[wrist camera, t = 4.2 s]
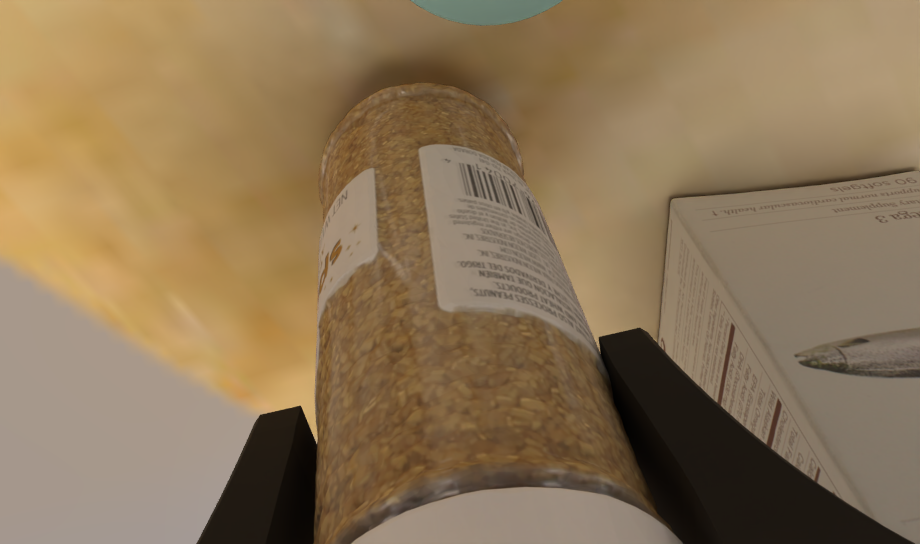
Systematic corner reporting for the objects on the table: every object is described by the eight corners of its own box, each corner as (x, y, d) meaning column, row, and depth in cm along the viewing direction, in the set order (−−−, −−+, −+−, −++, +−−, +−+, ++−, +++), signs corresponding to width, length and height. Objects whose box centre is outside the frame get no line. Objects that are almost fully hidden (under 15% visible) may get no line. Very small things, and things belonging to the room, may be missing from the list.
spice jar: (277, 144, 19) (168, 794, 7) (461, 35, 18) (662, 578, 6) (389, 293, 21) (440, 960, 10) (558, 202, 20) (826, 815, 9)
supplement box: (924, 160, 24) (1375, 528, 14) (867, 365, 28) (1177, 766, 18) (662, 188, 23) (922, 591, 13) (643, 392, 28) (829, 821, 17)
